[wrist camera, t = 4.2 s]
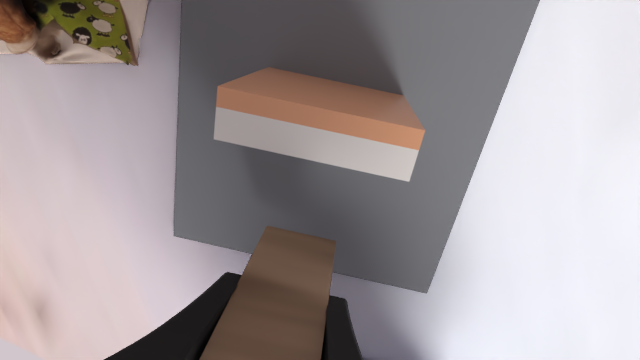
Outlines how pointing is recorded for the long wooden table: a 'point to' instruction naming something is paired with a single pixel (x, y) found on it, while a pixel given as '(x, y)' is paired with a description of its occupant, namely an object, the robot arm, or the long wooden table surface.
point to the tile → (320, 121)
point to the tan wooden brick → (277, 301)
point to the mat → (357, 69)
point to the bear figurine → (73, 30)
